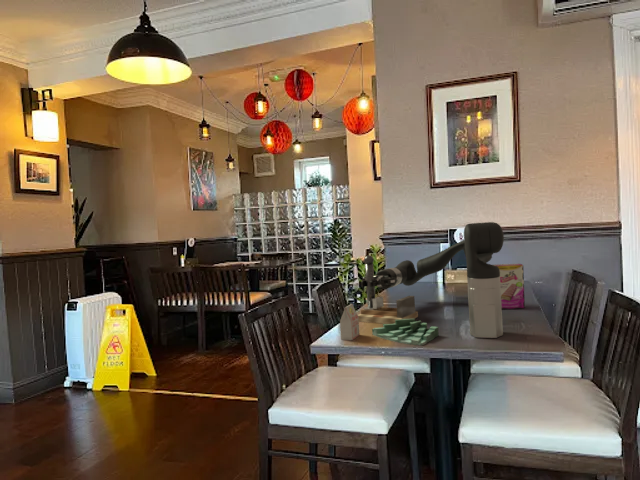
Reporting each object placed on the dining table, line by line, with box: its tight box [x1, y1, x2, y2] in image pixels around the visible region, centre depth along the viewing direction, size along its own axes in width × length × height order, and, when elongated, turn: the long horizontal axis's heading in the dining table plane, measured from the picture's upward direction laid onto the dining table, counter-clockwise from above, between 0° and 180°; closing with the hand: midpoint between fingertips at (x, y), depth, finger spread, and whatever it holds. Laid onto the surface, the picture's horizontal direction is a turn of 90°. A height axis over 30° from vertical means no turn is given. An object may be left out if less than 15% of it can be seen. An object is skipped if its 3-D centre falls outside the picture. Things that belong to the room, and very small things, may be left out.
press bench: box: [357, 295, 419, 325], centre depth 170 cm, size 18×14×8 cm
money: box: [371, 318, 439, 346], centre depth 144 cm, size 20×16×5 cm
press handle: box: [363, 255, 385, 311], centre depth 173 cm, size 6×5×21 cm
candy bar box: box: [493, 263, 526, 310], centre depth 176 cm, size 11×5×16 cm, turn 84°
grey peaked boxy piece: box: [339, 303, 360, 341], centre depth 147 cm, size 4×7×10 cm, turn 157°
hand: (366, 284), depth 171 cm, fingers closed on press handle, 3 cm apart
